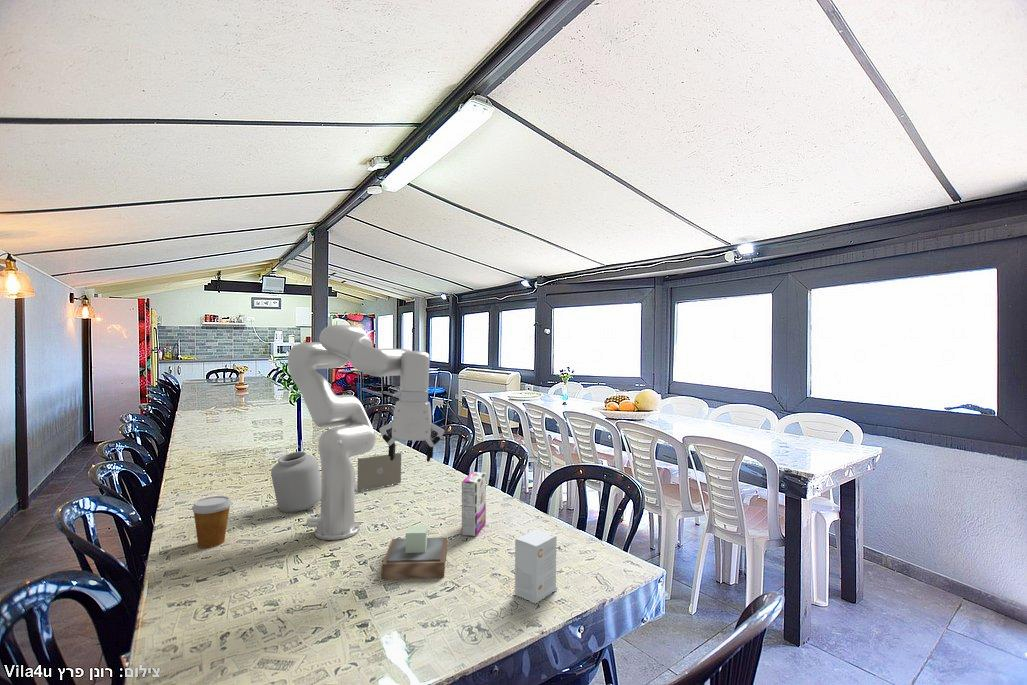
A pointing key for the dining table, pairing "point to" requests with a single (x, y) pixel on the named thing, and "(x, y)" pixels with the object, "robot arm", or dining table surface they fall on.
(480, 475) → the candy bar box
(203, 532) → the disposable coffee cup
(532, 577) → the small box
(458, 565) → the dining table surface
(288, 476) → the jar
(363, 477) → the laptop
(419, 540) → the sage cube
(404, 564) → the walnut base
